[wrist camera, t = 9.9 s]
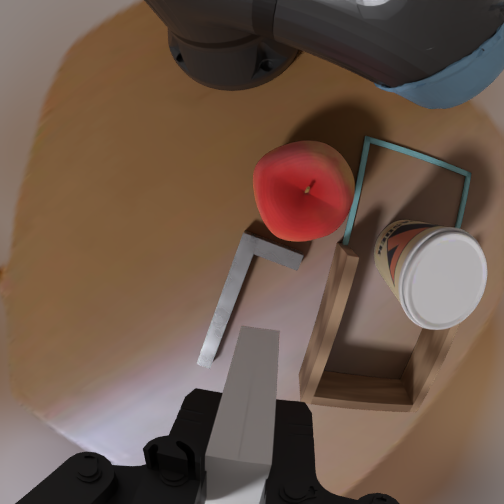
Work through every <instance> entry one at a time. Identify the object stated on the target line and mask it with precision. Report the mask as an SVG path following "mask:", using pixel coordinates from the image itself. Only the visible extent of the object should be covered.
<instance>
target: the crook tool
mask: <svg viewBox="0 0 504 504" xmlns="http://www.w3.org/2000/svg"><path fill="white" fill-rule="evenodd" d="M253 254H255V255H257V256H260V257H262V258H265V259H268V260H270V261H273V262H276V263H278V264H281V265H284V266H286V267H289V268H292V269H294V270H298V268H299V265H300V263H301V261H302V258H303V256H304V255H303V252H301V251H299V250H296V249H293V248H291V247H288V246H285V245H283V244H280V243H278V242H275V241H272V240H270V239H267V238H264V237H262V236H259V235H256V234H254V233H251V232H249V231H246V230H245V231H244V233H243V235H242V238H241V241H240V244H239V246H238V249H237V252H236V255H235V257H234V260H233V263H232V266H231V268H230V271H229V274H228V277H227V280H226V282H225V285H224V288H223V291H222V294H221V296H220V299H219V302H218V305H217V308H216V310H215V313H214V316H213V319H212V322H211V324H210V327H209V330H208V333H207V336H206V339H205V341H204V344H203V347H202V350H201V353H200V356H199V359H198V361H197V364H198V365H201V366H203V367H206V368H209V369H210V367H211V365H212V362H213V359H214V357H215V354H216V351H217V349H218V346H219V344H220V341H221V338H222V336H223V333H224V330H225V328H226V325H227V322H228V320H229V317H230V315H231V312H232V309H233V307H234V304H235V301H236V299H237V296H238V294H239V291H240V288H241V286H242V283H243V280H244V278H245V275H246V272H247V270H248V267H249V265H250V262H251V259H252V257H253Z"/></svg>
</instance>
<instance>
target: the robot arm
mask: <svg viewBox="0 0 504 504" xmlns="http://www.w3.org/2000/svg"><path fill="white" fill-rule="evenodd" d="M144 1H145V2H146V3H147V4H148V5H149V6H150V8H151V9H152V10H153V11H154V12H155V13H156V14H157V16H158V17H159V18H160V19H161V20H162V21H163V23H164V24H165V25H166V26H167V27H168V43H169V48H170V51H171V54H172V56H173V58H174V60H175V61H176V63H177V64H178V66H179V67H180V68H181V69H182V70H183V71H184V72H185V73H186V74H187V75H188V76H189V77H190V78H192V79H193V80H195V81H196V82H198V83H200V84H202V85H204V86H207V87H210V88H214V89H219V90H228V91H235V90H245V89H250V88H254V87H257V86H260V85H262V84H265V83H267V82H269V81H271V80H273V79H274V78H276V77H277V76H279V75H280V74H281V73H282V72H284V71H285V70H286V69H287V68H288V66H289V65H290V64H291V63H292V61H293V60H294V58H295V57H296V55H297V52H298V50H302V51H304V52H307V53H309V54H312V55H314V56H317V57H319V58H322V59H324V60H327V61H329V62H331V63H334V64H336V65H338V66H340V67H342V68H345V69H347V70H349V71H351V72H353V73H355V74H357V75H359V76H362V77H364V78H366V79H368V80H370V81H371V82H373V83H374V84H375V86H377V87H378V88H380V89H382V90H385V91H389V92H394V93H396V94H398V95H400V96H402V97H404V98H406V99H408V100H410V101H412V102H414V103H415V104H417V105H419V106H422V107H425V108H428V109H436V108H439V109H440V108H442V109H446V108H451V107H454V106H457V105H460V104H462V103H464V102H466V101H468V100H470V99H472V98H473V97H475V96H476V95H478V94H479V93H480V92H482V91H483V90H484V89H485V88H486V87H488V86H489V85H490V84H491V83H492V82H493V81H494V80H495V79H496V78H497V77H498V76H499V74H500V73H501V72H502V71H503V69H504V0H144ZM278 353H279V331H277V330H269V329H261V328H254V327H246V326H241V330H240V333H239V337H238V340H237V344H236V348H235V351H234V355H233V358H232V362H231V366H230V369H229V373H228V376H227V380H226V383H225V387H224V390H223V393H220V392H214V391H208V390H203V389H197V388H195V389H194V390H193V391H192V392H191V393H189V394H188V395H187V396H186V397H185V399H184V401H183V403H182V406H181V409H180V410H179V413H178V415H177V419H176V420H175V422H174V424H173V427H172V429H171V431H170V434H169V436H168V435H167V436H162V437H157V438H155V439H153V440H151V441H149V442H148V443H147V444H146V446H145V447H144V448H143V452H144V456H145V461H146V464H145V465H142V466H118V465H112V464H111V462H110V461H109V460H108V459H106V458H105V457H104V456H102V455H100V454H98V453H94V452H82V453H77V454H75V455H74V456H72V457H70V458H69V459H68V460H66V461H65V462H64V463H63V464H62V465H61V466H59V467H58V468H57V469H56V470H55V471H54V472H52V473H51V474H50V475H49V476H48V477H47V478H45V479H44V480H43V481H42V482H41V483H39V484H38V485H37V486H36V487H35V488H33V489H32V490H31V491H30V492H29V493H28V494H26V495H25V496H24V497H23V498H22V499H20V500H19V501H18V502H17V503H15V504H399V503H398V502H397V500H396V499H394V498H392V497H391V496H389V495H386V494H381V493H373V494H368V495H365V496H363V497H361V498H359V500H354V499H350V498H346V497H342V496H338V495H335V494H333V493H330V492H329V491H327V490H326V489H324V488H323V487H322V486H321V484H320V483H319V481H318V480H317V477H316V471H315V453H314V437H313V427H312V426H313V423H312V413H311V411H310V410H309V408H308V406H307V405H306V403H305V402H298V401H287V400H277V399H276V391H277V373H278Z"/></svg>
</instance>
